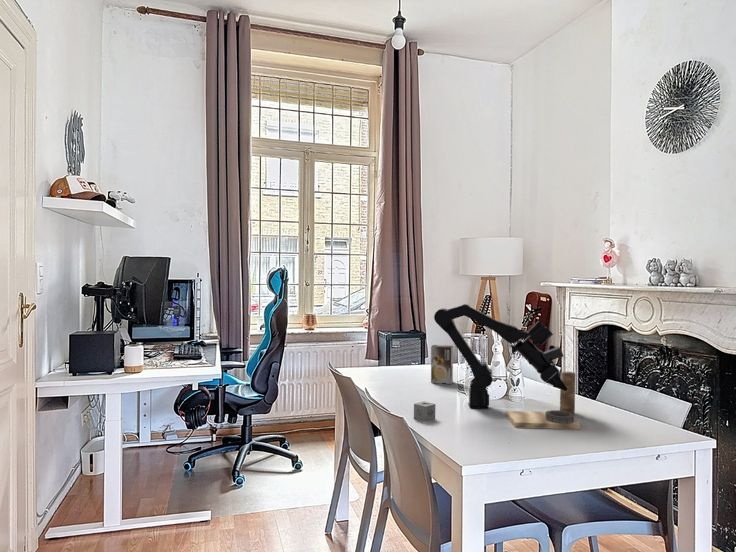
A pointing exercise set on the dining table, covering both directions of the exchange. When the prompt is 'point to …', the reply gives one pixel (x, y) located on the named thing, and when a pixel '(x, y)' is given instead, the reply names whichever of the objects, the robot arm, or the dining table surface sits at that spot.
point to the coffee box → (441, 364)
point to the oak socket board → (543, 419)
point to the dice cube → (424, 411)
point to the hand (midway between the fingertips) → (564, 387)
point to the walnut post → (568, 392)
